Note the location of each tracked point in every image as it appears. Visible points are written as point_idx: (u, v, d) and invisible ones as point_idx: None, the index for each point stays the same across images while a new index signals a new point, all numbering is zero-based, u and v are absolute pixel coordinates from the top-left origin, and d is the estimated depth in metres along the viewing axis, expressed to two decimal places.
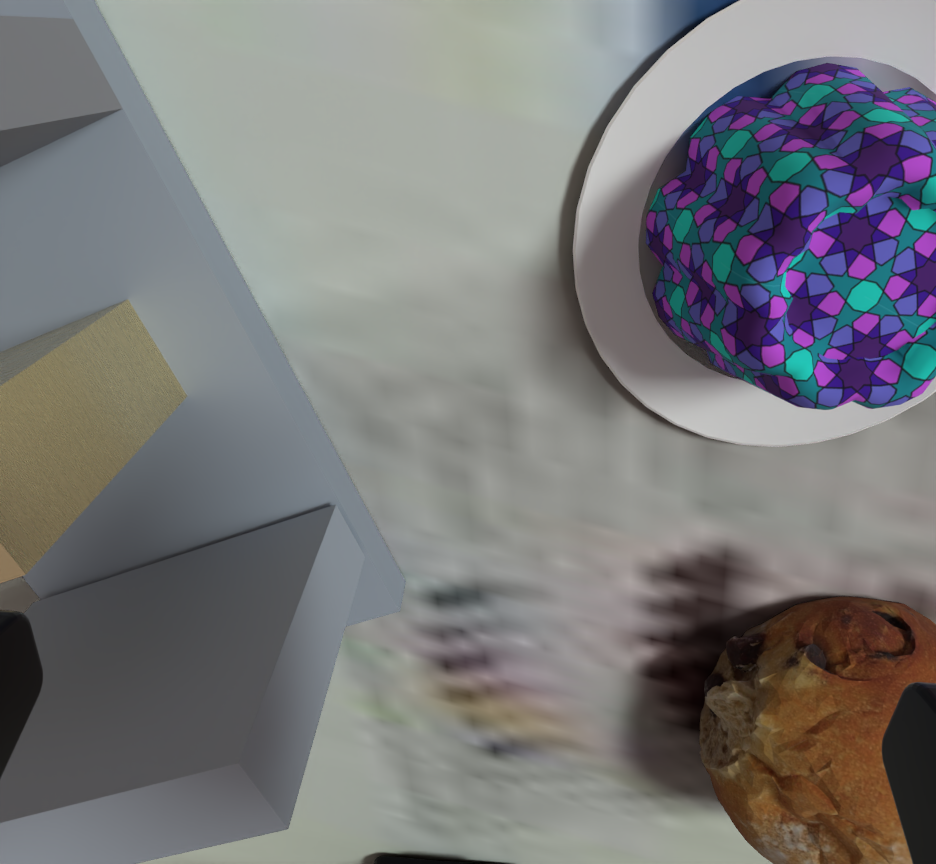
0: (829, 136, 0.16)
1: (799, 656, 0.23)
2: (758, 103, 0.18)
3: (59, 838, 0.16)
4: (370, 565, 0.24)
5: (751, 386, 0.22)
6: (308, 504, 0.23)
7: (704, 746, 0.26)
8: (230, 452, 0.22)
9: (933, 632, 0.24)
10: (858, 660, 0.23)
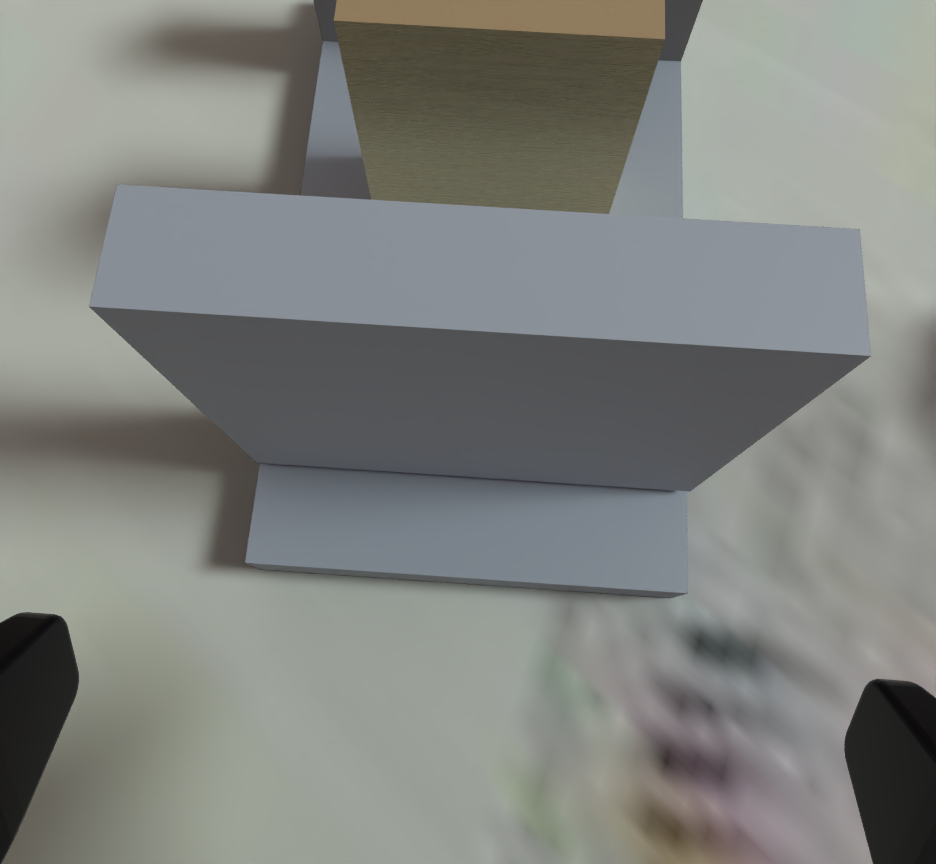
0: None
1: None
2: None
3: (533, 259, 0.11)
4: (682, 513, 0.19)
5: None
6: None
7: None
8: None
9: None
10: None
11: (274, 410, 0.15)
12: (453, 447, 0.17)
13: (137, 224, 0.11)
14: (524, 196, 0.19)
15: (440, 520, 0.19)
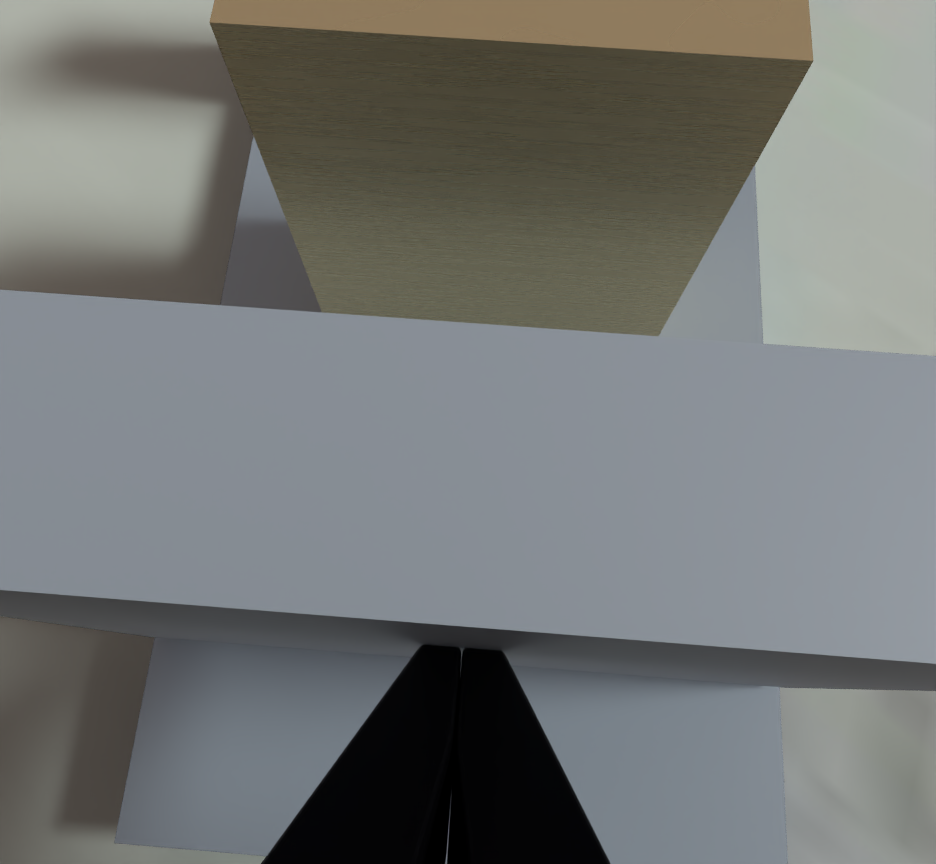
0: None
1: None
2: None
3: (593, 449, 0.05)
4: (776, 767, 0.13)
5: None
6: None
7: None
8: None
9: None
10: None
11: (125, 625, 0.09)
12: None
13: None
14: (542, 294, 0.12)
15: None
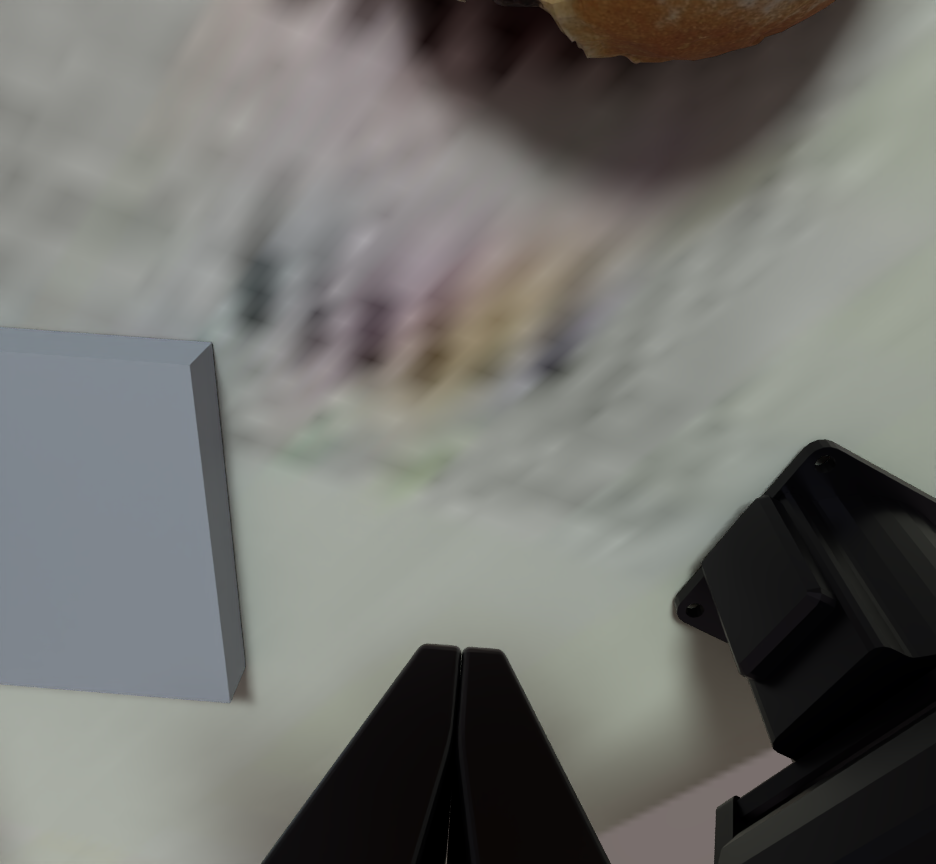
0: None
1: None
2: None
3: None
4: (106, 363, 0.18)
5: None
6: (4, 386, 0.18)
7: (576, 42, 0.14)
8: None
9: None
10: None
11: None
12: None
13: None
14: None
15: (165, 573, 0.21)
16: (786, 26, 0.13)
